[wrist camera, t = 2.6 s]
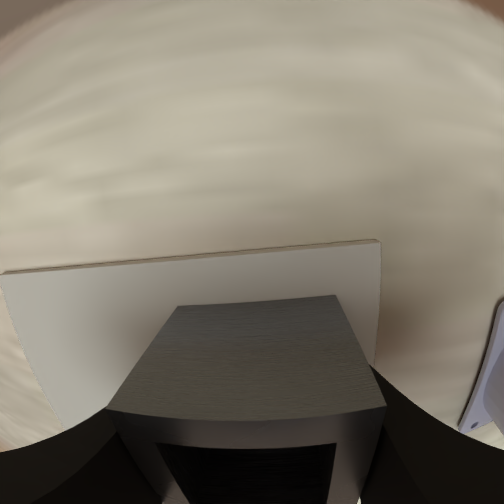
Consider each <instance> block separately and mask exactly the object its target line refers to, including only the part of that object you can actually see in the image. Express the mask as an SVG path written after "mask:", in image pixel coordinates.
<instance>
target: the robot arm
mask: <svg viewBox="0 0 504 504" xmlns="http://www.w3.org/2000/svg"><path fill="white" fill-rule="evenodd" d="M369 366H370V368H371V370H372V372H373V375H374V377H375V379H376V381H377V384H378V386H379V388H380V390H381V393H382V395H383V397H384V400H385V402H386V404H387V408H386V412H385V416H384V420H383V424H382V428H381V432H380V436H379V439H378V443H377V446H376V450H375V453H374V456H373V459H372V463H371V466H370V469H369V472H368V475H367V478H366V480H365V483H364V486H363V489H362V491H361V494H360V499H361V504H504V450H502V449H499V448H496V447H493V446H490V445H487V444H485V443H482V442H480V441H478V440H475V439H473V438H471V437H468V436H466V435H464V433H467V432H469V431H472V430H474V429H476V428H479V427H481V426H483V425H485V424H487V423H489V422H491V421H494V422H495V424H496V425H497V427H498V428H499V430H500V431H501V433H502V434H503V435H504V301H503V302H502V303H501V304H500V305H499V307H498V310H497V313H496V318H495V322H494V326H493V330H492V334H491V338H490V342H489V346H488V349H487V353H486V356H485V359H484V362H483V366H482V369H481V372H480V375H479V377H478V380H477V383H476V386H475V388H474V391H473V394H472V396H471V399H470V401H469V404H468V406H467V409H466V411H465V413H464V415H463V418H462V420H461V422H460V424H459V426H458V430H459V432H458V431H456V430H455V429H453V428H451V427H449V426H448V425H446V424H444V423H442V422H441V421H439V420H437V419H436V418H434V417H433V416H431V415H430V414H428V413H427V412H425V411H424V410H423V409H421V408H420V407H418V406H417V405H416V404H414V403H413V402H412V401H411V400H409V399H408V398H407V397H406V396H404V395H403V394H402V393H401V392H400V391H398V390H397V389H396V388H395V387H394V386H393V385H391V384H390V383H389V382H388V381H387V380H386V379H385V378H384V377H383V376H381V375H380V374H379V373H378V372H377V371H376V370H375V369H374V368H373V367H372V366H371V365H370V364H369ZM105 408H106V407H104V408H103V409H101V410H100V411H98V412H97V413H95V414H94V415H92V416H91V417H89V418H88V419H86V420H84V421H83V422H81V423H79V424H77V425H75V426H74V427H72V428H70V429H68V430H66V431H64V432H62V433H60V434H57V435H55V436H53V437H50V438H48V439H45V440H42V441H40V442H37V443H34V444H32V445H29V446H25V447H22V448H18V449H14V450H10V451H5V452H0V504H162V503H163V501H162V500H161V498H160V497H159V496H158V494H157V493H156V492H155V490H154V489H153V488H152V486H151V485H150V483H149V482H148V480H147V479H146V478H145V476H144V475H143V473H142V472H141V470H140V469H139V467H138V465H137V464H136V462H135V461H134V459H133V458H132V456H131V454H130V453H129V451H128V449H127V448H126V446H125V444H124V443H123V441H122V439H121V438H120V436H119V434H118V432H117V430H116V429H115V427H114V425H113V423H112V421H111V419H110V417H109V415H108V414H107V412H106V410H105Z"/></svg>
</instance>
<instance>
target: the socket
mask: <svg viewBox="0 0 504 504" xmlns="http://www.w3.org/2000/svg"><path fill="white" fill-rule="evenodd" d="M386 408H387V404H386V402H385V400H384V397H383V395H382V393H381V390H380V388H379V386H378V384H377V381H376V379H375V377H374V375H373V372H372V370H371V368H370V366H369V363H368V361H367V359H366V357H365V355H364V353H363V350H362V348H361V346H360V344H359V342H358V340H357V338H356V336H355V334H354V331H353V329H352V327H351V325H350V323H349V321H348V319H347V317H346V315H345V313H344V311H343V309H342V307H341V305H340V303H339V301H338V299H337V297H336V295H326V296H316V297H305V298H294V299H283V300H270V301H257V302H242V303H226V304H208V305H186V306H177V307H176V309H175V310H174V312H173V313H172V314H171V316H170V317H169V318H168V320H167V321H166V323H165V324H164V325H163V327H162V328H161V330H160V331H159V332H158V334H157V335H156V336H155V338H154V339H153V341H152V342H151V343H150V345H149V346H148V348H147V349H146V350H145V352H144V353H143V355H142V356H141V357H140V359H139V360H138V362H137V363H136V365H135V366H134V367H133V369H132V370H131V372H130V373H129V375H128V376H127V377H126V379H125V380H124V382H123V383H122V385H121V386H120V387H119V389H118V390H117V392H116V393H115V395H114V396H113V398H112V399H111V401H110V402H109V403H108V405H107V406H106V408H105V410H106V412H107V414H108V415H109V417H110V419H111V421H112V423H113V425H114V427H115V429H116V430H117V432H118V434H119V436H120V438H121V439H122V441H123V443H124V444H125V446H126V448H127V449H128V451H129V453H130V454H131V456H132V458H133V459H134V461H135V462H136V464H137V465H138V467H139V469H140V470H141V472H142V473H143V475H144V476H145V478H146V479H147V480H148V482H149V483H150V485H151V486H152V488H153V489H154V490H155V492H156V493H157V494H158V496H159V497H160V498H161V500H162V501H163V502H164V504H357V502H358V499H359V497H360V494H361V491H362V489H363V486H364V483H365V480H366V478H367V475H368V472H369V469H370V466H371V463H372V459H373V456H374V453H375V450H376V446H377V443H378V439H379V436H380V432H381V428H382V424H383V420H384V416H385V412H386Z"/></svg>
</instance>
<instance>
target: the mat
mask: <svg viewBox="0 0 504 504" xmlns="http://www.w3.org/2000/svg"><path fill="white" fill-rule="evenodd" d="M380 281H381V242H379V241H377V240H376V239H375V240H363V241H351V242H340V243H328V244H317V245H305V246H294V247H282V248H271V249H259V250H248V251H237V252H225V253H214V254H203V255H191V256H180V257H169V258H158V259H147V260H136V261H124V262H113V263H102V264H91V265H80V266H69V267H58V268H47V269H36V270H25V271H15V272H4V273H2V274H0V285H1V289H2V292H3V296H4V299H5V302H6V305H7V308H8V312H9V315H10V317H11V320H12V323H13V326H14V329H15V331H16V334H17V337H18V339H19V342H20V344H21V347H22V349H23V351H24V354H25V356H26V358H27V361H28V363H29V365H30V367H31V369H32V371H33V374H34V376H35V378H36V380H37V382H38V384H39V386H40V388H41V390H42V391H43V393H44V395H45V397H46V399H47V401H48V403H49V404H50V406H51V408H52V410H53V411H54V413H55V415H56V417H57V418H58V420H59V421H60V423H61V425H62V426H63V428H64V430H65V431H66V430H68V429H70V428H72V427H74V426H75V425H77V424H79V423H81V422H83V421H84V420H86V419H88V418H89V417H91V416H92V415H94V414H95V413H97V412H98V411H100V410H101V409H103V408H104V407H106V406H107V405H108V403H109V402H110V401H111V399H112V398H113V396H114V395H115V393H116V392H117V390H118V389H119V387H120V386H121V385H122V383H123V382H124V380H125V379H126V377H127V376H128V375H129V373H130V372H131V370H132V369H133V367H134V366H135V365H136V363H137V362H138V360H139V359H140V357H141V356H142V355H143V353H144V352H145V350H146V349H147V348H148V346H149V345H150V343H151V342H152V341H153V339H154V338H155V336H156V335H157V334H158V332H159V331H160V330H161V328H162V327H163V325H164V324H165V323H166V321H167V320H168V318H169V317H170V316H171V314H172V313H173V312H174V310H175V309H176V307H177V306H186V305H208V304H226V303H242V302H257V301H270V300H283V299H294V298H305V297H316V296H326V295H336V297H337V299H338V301H339V303H340V305H341V307H342V309H343V311H344V313H345V315H346V317H347V319H348V321H349V323H350V325H351V327H352V329H353V331H354V334H355V336H356V338H357V340H358V342H359V344H360V346H361V348H362V350H363V353H364V355H365V357H366V359H367V361H368V363H369V364H370V365H371V366H372V367H373V368H374V360H375V352H376V342H377V331H378V319H379V303H380Z"/></svg>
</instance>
